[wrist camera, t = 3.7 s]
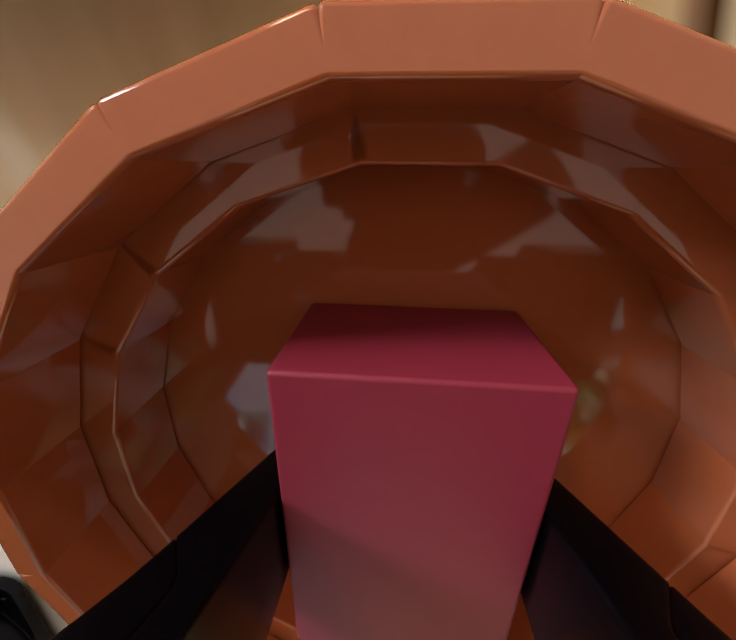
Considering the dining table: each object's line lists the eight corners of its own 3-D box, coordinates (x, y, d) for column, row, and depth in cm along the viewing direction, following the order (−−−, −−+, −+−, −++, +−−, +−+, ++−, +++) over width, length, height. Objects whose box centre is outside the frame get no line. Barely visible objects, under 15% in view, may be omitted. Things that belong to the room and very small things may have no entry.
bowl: (617, 615, 12) (712, 810, 8) (188, 571, 13) (107, 727, 9) (875, 88, 6) (1600, -35, 2) (48, 92, 7) (-318, 13, 4)
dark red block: (475, 532, 10) (501, 663, 8) (323, 519, 11) (296, 640, 8) (517, 309, 8) (583, 389, 5) (311, 301, 8) (264, 371, 5)
